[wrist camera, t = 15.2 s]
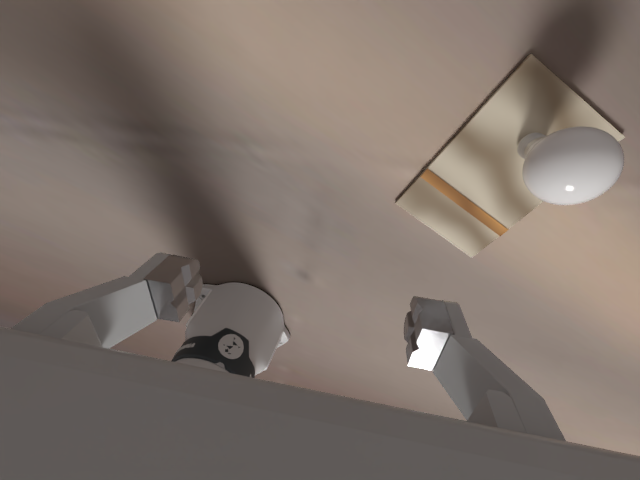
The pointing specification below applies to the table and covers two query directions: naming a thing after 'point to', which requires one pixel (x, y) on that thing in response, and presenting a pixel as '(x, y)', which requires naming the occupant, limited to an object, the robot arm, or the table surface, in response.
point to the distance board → (495, 159)
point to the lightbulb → (570, 164)
